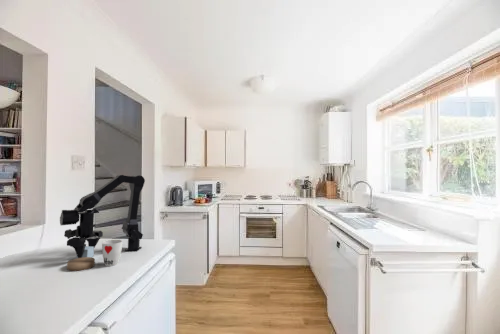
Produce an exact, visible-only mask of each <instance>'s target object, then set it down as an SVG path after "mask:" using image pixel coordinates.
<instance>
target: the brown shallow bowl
mask: <svg viewBox="0 0 500 334" xmlns="http://www.w3.org/2000/svg"><path fill="white" fill-rule="evenodd" d="M95 262H96V260H95V258H94V257H82V258H72V259H70V260H68V261H67V264H66V270H67V271H70V272H79V271H85V270H90V269H92V268H94V266H95V264H96V263H95Z"/></svg>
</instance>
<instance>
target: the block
mask: <svg viewBox="0 0 500 334" xmlns="http://www.w3.org/2000/svg"><path fill="white" fill-rule="evenodd" d="M94 253H95V248H94V247H93V246H88V245H86V247H85V249H84V252H83V255H82V257H92V258H94V256H95V255H94ZM76 258H78V256H77V255H76ZM76 258H75V259H76Z"/></svg>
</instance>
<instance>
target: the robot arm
mask: <svg viewBox="0 0 500 334" xmlns="http://www.w3.org/2000/svg"><path fill="white" fill-rule="evenodd" d="M145 181H146V180H145V177H144V176H142V175H137V174H133V175H131V176H130V175H124V174H117V175H116V176H115V177H114V178H112V179H111V180H109V181H108V182H107V183H106V184H104V185H102V186H101V187H100V188H98V189H97V190H96V191H94V192H90V193H88V194H86V195H84V196H81V198H80V199H79V203H78V204H77V205H76V207H75V208H73V209H61V214H60V216H59V224H60V226H67V225H69V226H70V225H76V224H77V223H79V225H77V226H76V229H71V228H69V229H66V230H64V237H65V238H67V241H66V246H69V247H72V248H73V249H74V251H75V254H76V256H78V258H82V255H83V252H84V249H85V247H86V246H93V247H94V249H95V248H96V246H97V244H98V242H99V241H100V239H101V238H102V237H103V234H104V232H103V231H102V230H94V228H95V227H96V223H94V222H95V214H99V213H100V210H98V209H97V208H96V206H97V205H98V204H99V203H100V202H101V200H102V198H104V197H105V196H106V195H108V194H109V193H111V192H112V191H113V190H115V189H116V188H117V187H119V186H120V185H122V184H123V183H126V184H127V183H128V185H129V189H130V197H129V205H128V211H127V218H126V220H125V221H124V220H122V227H121V229H122V232H123V234H125V236H126V238H128V239H127V248H126V249H124V251H126V252H138V251H139V250H141V249H142V248H143V247H142V246H140V240H141V239H142V238H143V236H144V235H143V233H142V232H141V231H139V222H138V211H139V202H140V195H141V192H142V190H143V189H144V185H145ZM86 241H87V243H88V244H86Z"/></svg>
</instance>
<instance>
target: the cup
mask: <svg viewBox="0 0 500 334" xmlns="http://www.w3.org/2000/svg"><path fill="white" fill-rule="evenodd" d="M101 246H102V247H101V248H102V249H101V250H102V251H101V252H102V260H103V264H104V266H105V267H113V266H117V265H118V264H119V261H120V258H121V254H122V250H123V249H122V248H123V240H122V239H107V240H104V241H102V242H101Z"/></svg>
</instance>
